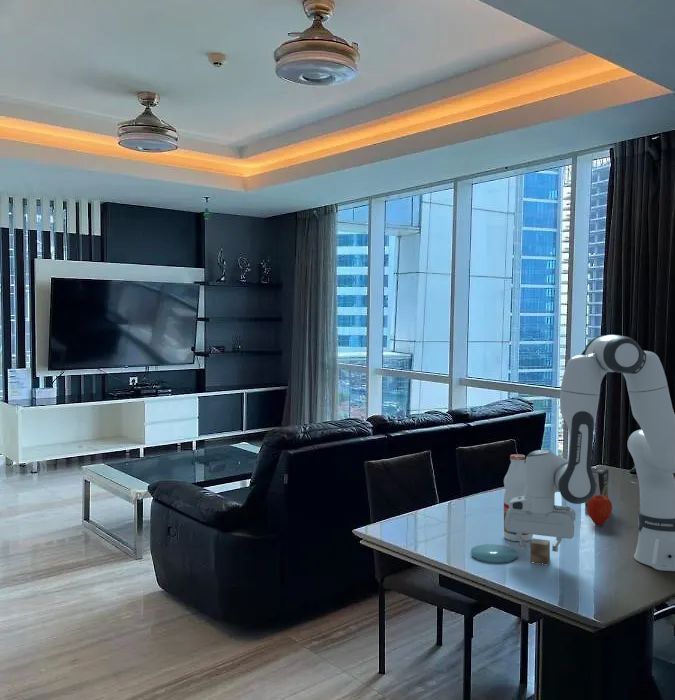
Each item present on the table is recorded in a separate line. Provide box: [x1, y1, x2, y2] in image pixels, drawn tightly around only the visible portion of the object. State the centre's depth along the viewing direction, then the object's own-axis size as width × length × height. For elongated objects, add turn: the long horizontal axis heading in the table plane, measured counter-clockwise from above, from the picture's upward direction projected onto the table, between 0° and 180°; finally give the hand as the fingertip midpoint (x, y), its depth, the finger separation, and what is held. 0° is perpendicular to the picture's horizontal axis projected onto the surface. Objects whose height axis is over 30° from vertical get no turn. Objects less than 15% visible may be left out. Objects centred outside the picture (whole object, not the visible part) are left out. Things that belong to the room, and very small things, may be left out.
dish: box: [470, 543, 518, 564], centre depth 213 cm, size 14×14×1 cm
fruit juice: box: [503, 453, 534, 543], centre depth 229 cm, size 9×9×28 cm
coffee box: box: [584, 467, 609, 515], centre depth 258 cm, size 9×6×16 cm
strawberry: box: [587, 495, 613, 527], centre depth 242 cm, size 9×8×11 cm
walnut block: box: [529, 538, 551, 565], centre depth 207 cm, size 5×5×6 cm
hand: (538, 548), depth 207 cm, fingers open, 8 cm apart
